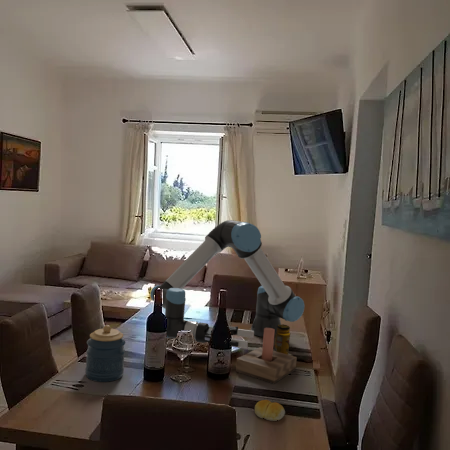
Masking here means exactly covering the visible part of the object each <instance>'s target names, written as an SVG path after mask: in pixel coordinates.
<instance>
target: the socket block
mask: <svg viewBox="0 0 450 450" xmlns="http://www.w3.org/2000/svg"><path fill="white" fill-rule="evenodd" d="M262 348H263V346H262V347H261V346H260V347H257V348H255V349H253V350H251V351H250V352H247V353H245V354H244V355H241V356H239V357H237V358H236V364H235V365H236V366H235V373H238V374H241V375H245V376H249V377H252V378H255V379H257V378H258V380H261V381H265V382H267V381H268V382H267V383H270V382H271V383H270V384H273V383H275V384H276V383H278V382H279V381H281V380H282V379H284V378H285V377H286V376H288V375H290V374H291V373H294V371H296V368H297V360H298V359H297V356H294V355H287V354H283V353H280V352H276V351H274V350H273V356H272V361H271V362H269V361H266V360H262ZM277 381H278V382H277Z"/></svg>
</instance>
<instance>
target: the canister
mask: <svg viewBox="0 0 450 450" xmlns="http://www.w3.org/2000/svg"><path fill="white" fill-rule="evenodd" d="M126 342H127V341H126V340H125V339H124V333H122V331H120V330H118V329H116V328H112V327H111V326H110V325H109V324H106V325H104V326H103V328H99V329H96V330H94V331H93V332H91V333H89V339H88V340H87V341H86V344H87V350H86V361H85V362H86V364H85V369H84V371H85V377H86V378H87V379H88V380H91V381H93V382H100V383H101V382H102V383H104V382H106V383H107V382H113V381H116V380H119V379H121V378H122V377H123V375H124V371H125V367H124V366H125V363H124V362H125V353H126V351H125V348H124V347H125V345H126Z"/></svg>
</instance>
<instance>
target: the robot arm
mask: <svg viewBox="0 0 450 450" xmlns="http://www.w3.org/2000/svg"><path fill="white" fill-rule="evenodd" d="M262 246H263V242H262V233H261V231H260V229H259V228H258V227H257V226H256V225H254V224H253V223H250V222H248V221H239V220H232V219H228V220H224V221H222V222H221V223H219V224H218V225H216V226H215V227H214V228H213V229H212V230H210V232H209V233H207V234H206V236H204V241H203V242H202V243H201V244H200V245H199V246H198V247H197V248H196V249H195V250H194V251H193V252H192V253H191V254H190V255H189V256H188V257H187V258H186V259H185V261H183V262H182V263H181V264H180V265H179V267H177V268H176V269H175V271H173V273H171V275H170V276H169V277H168V278H166V280H165V281H163V283H162V284H159V285H155V286H153V287H152V289H151V290H150V293H149V294H150V295H149V296H150V299H151V300H152V301H153V302H154V295H155V289H158V288H160V289H163V304H162V306H161V307H162V308H163V309H165V310H164V311H165V312H164V317H165V316H166V318H167V337H166V338H167V339H174V340H176V339H175V338H176V336H177V333H178V331H181V330H191V331H192V333H193V336H194V339H195V341H194V342H197V343H202V344H205V343H209V344H211V343H210V338H211V333H212V329H213V327H214V326H215V325H214V326H213V327H212V328H210V326H209V323H207V322H201V321H200V322H198V321H193V320H185V318H184V317H185V309H186V308H185V305H186V302H187V301H186V300H187V299H186V291H185V289H184V288H185V286H187V284H188V283H190V282H191V280H192V279H193V278H194V277H195V276H196V275H197V274H198V273H199V272H200V271H201V270H202V269H203V268H204V267H205V266H206V265H207V264H208V263H209V262H210V261H211V260H212V259H213V258H214V257H215V255H217V254H218V253H219V254H220V253H222V252H223V251H224V250H225V249H227V248H232V249H233V251H234V252H235V253H236V255H237V257H239V259H240V260H241V259H242V260H243V259H244V261H245V262H246V264H247V266H248V267H249V268H250V270H251V272H252V273H253V274H254V276H255V278H256V279H257V280H258V282H259V283H260V286H259V287H258V288H257V292H256V294H257V295H256V307H255V318H254V320H253V323H252V324H251V327H250V329H241V328H239V326H238V325H237V326H228V327H229V329H230V332H231V335H230V336H237V337H242V338H250V339H254V338H255V337H254V336H258V337H260V338H261V337H262V338H263V336H264V328H273V329H275V332H274V339H275V336H276V331H277V326H278V325H282V322H281V319H283V320H284V321H286V322H290V323H292V322H293V323H294V322H297V321H298V320H300V318H301V317H302V316H303V314H304V311H305V301H304V299H303V298H301V297H300V296H296V294H295V292H294V291H293V289H292V288H291V287H290V286H289V285H286V284H285V283H284V282H283V280H282V278H281V276H279V273H277V271H276V269H275V268H274V266H273V265H272V263H271V261H270V260H269V258H268V257H267V255H266V253H265V252H264V250H263V249H262ZM230 339H231V341H230V342H229V343H230V345H231V346H230V347H233V348H240V349H246V350H247V349H248V348H249V347H248V345H249V340H242V339H238V338H237V339H236V338H230ZM224 342H225V344H226V343H227V341H226V340H225V341H224Z"/></svg>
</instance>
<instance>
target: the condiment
mask: <svg viewBox="0 0 450 450" xmlns="http://www.w3.org/2000/svg"><path fill="white" fill-rule="evenodd" d="M290 329H291V327H290V326H289V325H288V324H281V325H278V326H277V331H276V336H275V338H274V347H273V351H276V352H280V353H283V354H287V355H291V356H293V354H291V353H289V349H290V341H291V340H290V339H291V333H290Z"/></svg>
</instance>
